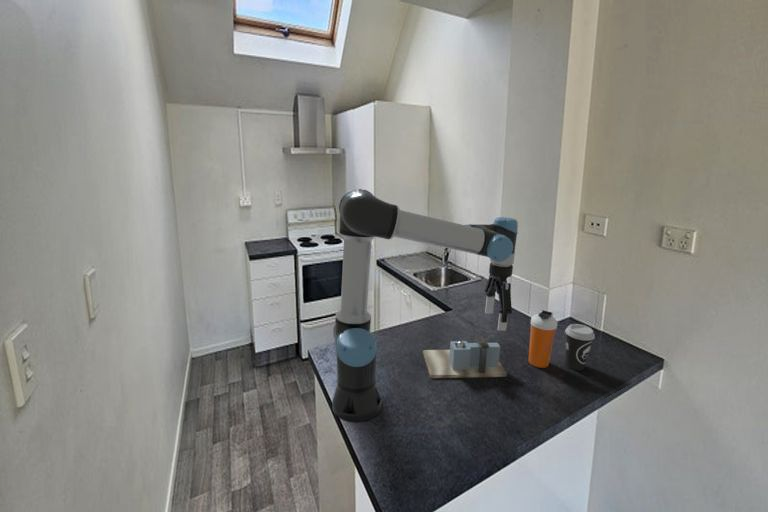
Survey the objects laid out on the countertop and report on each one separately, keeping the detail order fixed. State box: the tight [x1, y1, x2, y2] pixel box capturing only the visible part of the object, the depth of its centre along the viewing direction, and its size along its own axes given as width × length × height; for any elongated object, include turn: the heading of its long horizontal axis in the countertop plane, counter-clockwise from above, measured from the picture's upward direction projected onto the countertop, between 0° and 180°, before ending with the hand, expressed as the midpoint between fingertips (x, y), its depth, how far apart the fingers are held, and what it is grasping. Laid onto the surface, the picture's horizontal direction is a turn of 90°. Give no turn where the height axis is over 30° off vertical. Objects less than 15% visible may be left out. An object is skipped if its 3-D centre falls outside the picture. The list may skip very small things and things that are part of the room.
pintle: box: [457, 340, 464, 348], centre depth 134 cm, size 2×2×10 cm
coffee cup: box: [564, 323, 596, 371], centre depth 136 cm, size 10×10×15 cm
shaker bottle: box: [528, 309, 558, 369], centre depth 137 cm, size 9×9×20 cm
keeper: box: [474, 335, 489, 373], centre depth 132 cm, size 3×7×12 cm, turn 3°
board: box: [422, 349, 508, 379], centre depth 138 cm, size 27×17×1 cm, turn 93°
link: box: [449, 340, 501, 370], centre depth 134 cm, size 17×6×8 cm, turn 93°
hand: (494, 321), depth 131 cm, fingers open, 13 cm apart
